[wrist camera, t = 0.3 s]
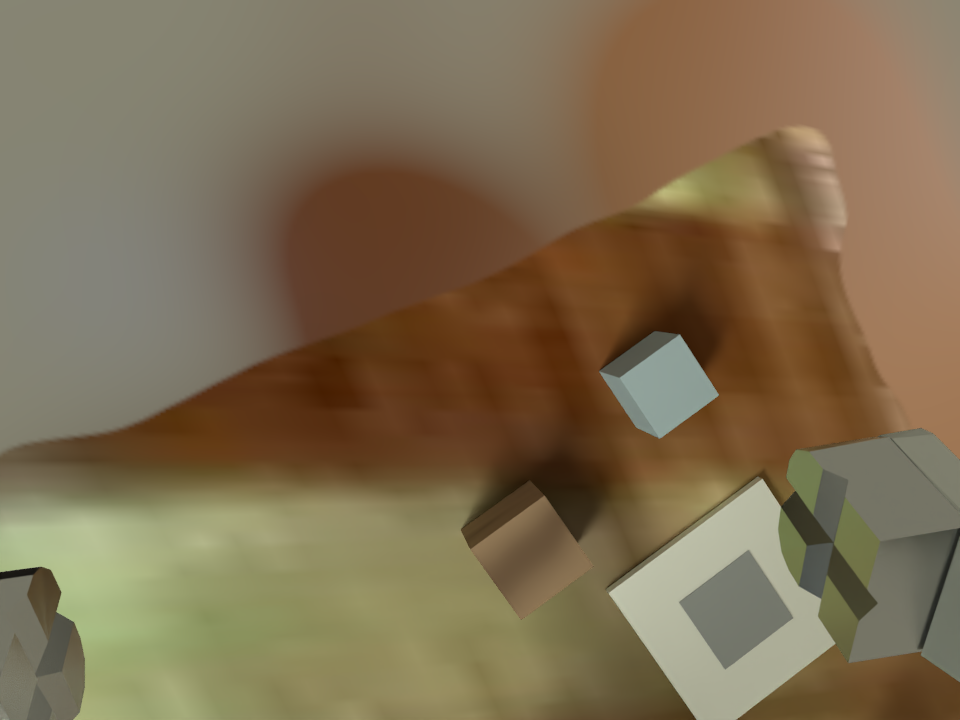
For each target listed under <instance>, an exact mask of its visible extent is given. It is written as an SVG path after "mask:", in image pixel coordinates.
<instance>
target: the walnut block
mask: <svg viewBox="0 0 960 720" xmlns="http://www.w3.org/2000/svg"><path fill="white" fill-rule="evenodd" d="M461 531H462V533H463V535H464V537H465V539H466V541H467V543H468V545H469V548H470V549H471V551H472V552H473V554H474V555H475V556H476V558H477V559H478V561H479V562H480V563H481V565H482V566H483V568H484V569H485V570H486V572H487V573H488V575H489V576H490V577H491V579H492V580H493V582H494V583H495V584H496V586H497V587H498V589H499V590H500V591H501V593H502V594H503V595H504V597H505V598H506V600H507V601H508V602H509V604H510V605H511V607H512V608H513V609H514V611H515V612H516V614H517V615H518V616H519V618H520V619H521V620H522V619H523V618H525V617H526V616H527V615H529V614H530V613H532V612H533V611H534V610H536V609H537V608H538V607H540V606H541V605H542V604H544V603H545V602H546V601H548V600H549V599H551V598H552V597H553V596H555V595H556V594H557V593H559V592H560V591H561V590H563V589H564V588H565V587H567V586H568V585H570V584H571V583H572V582H574V581H575V580H576V579H578V578H579V577H580V576H582V575H583V574H585V573H586V572H587V571H589V570H590V569H591V568H593V567H594V566H593V565H592V563H591V562H590V560H589V559H588V557H587V556H586V554H585V553H584V552H583V550H582V549H581V547H580V546H579V544H578V543H577V541H576V540H575V539H574V537H573V536H572V534H571V533H570V531H569V530H568V528H567V527H566V526H565V524H564V523H563V521H562V520H561V518H560V517H559V516H558V514H557V513H556V511H555V510H554V508H553V507H552V505H551V504H550V503H549V501H548V500H547V498H546V497H545V495H544V494H543V493H542V492H541V491H540V490H539V489H538V488H537V487H536V486H535V485H534V484H533V483H532V482H531V481H530V480H529V481H528V482H526V483H525V484H523V485H522V486H521V487H519V488H518V489H516V490H515V491H514V492H512V493H511V494H510V495H508V496H507V497H505V498H504V499H503V500H501V501H500V502H498V503H497V504H496V505H494V506H493V507H492V508H490V509H489V510H487V511H486V512H485V513H483V514H482V515H480V516H479V517H478V518H476V519H475V520H474V521H472V522H471V523H469V524H468V525H467V526H465V527H464V528H462V529H461Z"/></svg>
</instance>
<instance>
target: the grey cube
mask: <svg viewBox="0 0 960 720" xmlns="http://www.w3.org/2000/svg"><path fill="white" fill-rule="evenodd" d="M599 372H600V374H601V375H602V377H603V378H604V380H605V381H606V383H607V384H608V386H609V387H610V389H611V390H612V392H613V393H614V395H615V396H616V398H617V399H618V401H619V402H620V404H621V405H622V407H623V408H624V410H625V411H626V413H627V414H628V416H629V417H630V419H631V420H632V422H633V423H634V425H635V426H636V428H638V429H641V430H643V431H645V432H647V433H649V434H651V435H653V436H655V437H658V438H661V437H663V436H664V435H665V434H667V433H668V432H670V431H671V430H672V429H674V428H675V427H676V426H678V425H679V424H680V423H682V422H683V421H685V420H686V419H687V418H689V417H690V416H691V415H693V414H694V413H696V412H697V411H698V410H700V409H701V408H702V407H704V406H705V405H707V404H708V403H709V402H711V401H712V400H713V399H715V398H716V397H717V396H719V394H718V393H717V391H716V390H715V388H714V387H713V385H712V383H711V382H710V380H709V379H708V377H707V376H706V374H705V373H704V371H703V369H702V368H701V366H700V365H699V363H698V362H697V360H696V359H695V357H694V356H693V354H692V352H691V351H690V349H689V348H688V346H687V345H686V343H685V342H684V340H683V339H682V337H681V335H680V334H673V333H665V332H658V331H654V332H653V333H651V334H650V335H649V336H647V337H646V338H644V339H643V340H642V341H640V342H639V343H637V344H636V345H635V346H633V347H632V348H630V349H629V350H628V351H626V352H625V353H623V354H622V355H621V356H619V357H618V358H617V359H615V360H614V361H612V362H611V363H610V364H608V365H607V366H605V367H604V368H603V369H601V370H600V371H599Z"/></svg>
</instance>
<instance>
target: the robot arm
mask: <svg viewBox="0 0 960 720" xmlns="http://www.w3.org/2000/svg"><path fill="white" fill-rule="evenodd" d="M786 478H787V479H788V481H789V482H790V483H791V485H792V486H793V488H794V489H795V490H796V491H795V492H794V493H793V494H792V495H791V496H790V497H789V499H788V500H787V501H786V502H785V503H784V504H783V505H782V506H781V510H780V518H779V525H778V533H779V539H780V545H781V552H782V555H783V557H784V560H785V562H786V565H787V567H788V570H789V571H790V573H791V575H792V576H793V578H794V579H795V581H796V583H797V584H798V586H799V587H801V588H803V589H804V590H806V591H808V592H810V593H811V594H813V595H815V596H817V597H818V598H820V599H821V603H820V608H819V613H818V617H819V619H820V620H821V622H822V623H823V625H824V627H825V628H826V630H827V631H828V633H829V634H830V636H831V637H832V639H833V640H834V642H835V644H836V645H837V647H838V648H839V650H840V651H841V653H842V654H843V656H844V657H845V659H846V660H847V662H848V663H852V662H858V661H865V660H871V659H877V658H883V657H890V656H896V655H902V654H909V653H915V652H921V651H922V653H921V656H922V657H924V658H925V659H927V660H928V661H930V662H931V663H933V664H934V665H936V666H937V667H939V668H940V669H941V670H943V671H944V672H946V673H947V674H949V675H950V676H952V677H953V678H955V679H956V680H957V681H959V682H960V460H959V459H958V458H957V457H956V456H955V455H954V454H953V453H952V452H951V451H950V450H949V449H948V448H947V447H946V446H945V445H944V444H943V443H942V442H941V441H940V440H939V439H938V438H937V437H936V436H935V435H934V434H933V433H931V432H929V431H926V430H924V429H922V428H919V429H913V430H907V431H901V432H896V433H890V434H884V435H880V436H878V437H870V438H864V439H858V440H852V441H846V442H839V443H833V444H827V445H821V446H815V447H809V448H803V449H797V450H796V451H795V452H794V454H793V455H792V457H791V459H790V461H789V466H788V471H787V476H786ZM60 596H61V591H60V588H59V586H58V584H57V582H56V580H55V578H54V576H53V574H52V572H51V570H49V569H46V568H43V567H35V568H28V569H20V570H13V571H5V572H0V720H73V719H74V718H75V717H76V716H77V715H78V713H79V712H80V708H81V703H82V698H83V693H84V688H85V658H84V653H83V649H82V644H81V639H80V636H79V634H78V631H77V629H76V626H75V624H74V622H73V621H71V620H69V619H67V618H66V617H64V616H62V615H60V614H59V613H57V612H56V611H57V607H58V603H59V599H60Z"/></svg>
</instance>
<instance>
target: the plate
mask: <svg viewBox="0 0 960 720" xmlns="http://www.w3.org/2000/svg"><path fill="white" fill-rule="evenodd" d="M780 510H781V507H780V505H779V503H778V502H777V500H776V499H775V497H774V496H773V494H772V493H771V491H770V490H769V488H768V486H767V485H766V483H765V482H764V480H763V479H762V478H760V477H756V478H755V479H754V480H752V481H751V482H750V483H748V484H747V485H746V486H744V487H743V488H742V489H740V490H739V491H737V492H736V493H735V494H733V495H732V496H731V497H729V498H728V499H727V500H725V501H724V502H723V503H721V504H720V505H719V506H717V507H716V508H715V509H713V510H712V511H711V512H709V513H708V514H706V515H705V516H704V517H702V518H701V519H700V520H698V521H697V522H696V523H694V524H693V525H692V526H690V527H689V528H688V529H686V530H685V531H684V532H682V533H681V534H680V535H678V536H677V537H675V538H674V539H673V540H671V541H670V542H669V543H667V544H666V545H665V546H663V547H662V548H661V549H659V550H658V551H657V552H655V553H654V554H653V555H651V556H650V557H648V558H647V559H646V560H644V561H643V562H642V563H640V564H639V565H638V566H636V567H635V568H634V569H632V570H631V571H630V572H628V573H627V574H626V575H624V576H623V577H622V578H620V579H619V580H617V581H616V582H615V583H613V584H612V585H611V586H609V587H608V588H607V589H606V591H607V592H608V593H609V595H610V596H611V598H612V599H613V601H614V602H615V603H616V605H617V606H618V608H619V609H620V611H621V612H622V613H623V615H624V616H625V618H626V619H627V621H628V622H629V624H630V625H631V626H632V628H633V629H634V631H635V632H636V634H637V635H638V636H639V638H640V639H641V641H642V642H643V644H644V645H645V646H646V648H647V649H648V651H649V652H650V654H651V655H652V657H653V658H654V659H655V661H656V662H657V664H658V665H659V667H660V668H661V669H662V671H663V672H664V674H665V675H666V677H667V678H668V679H669V681H670V682H671V684H672V685H673V687H674V688H675V690H676V691H677V692H678V694H679V695H680V697H681V698H682V700H683V701H684V702H685V704H686V705H687V707H688V708H689V710H690V711H691V712H692V714H693V715H694V717H695V718H696V720H736V719H738V718H739V717H740V716H742V715H743V714H744V713H746V712H747V711H748V710H749V709H751V708H752V707H753V706H755V705H756V704H757V703H759V702H760V701H761V700H763V699H764V698H765V697H766V696H768V695H769V694H770V693H772V692H773V691H774V690H776V689H777V688H778V687H779V686H781V685H782V684H783V683H785V682H786V681H787V680H789V679H790V678H791V677H793V676H794V675H795V674H796V673H798V672H799V671H800V670H802V669H803V668H804V667H806V666H807V665H808V664H810V663H811V662H812V661H813V660H815V659H816V658H817V657H819V656H820V655H821V654H823V653H824V652H825V651H826V650H828V649H829V648H830V647H832V646H833V645H834V644H835V642H834V640H833V639H832V637H831V636H830V634H829V633H828V631H827V630H826V628H825V627H824V625H823V623H822V622H821V620H820V619H819V617H818V613H819V608H820V603H821V599H820V598H818V597H817V596H815V595H813V594H811V593H810V592H808V591H806V590H804V589H803V588H801V587H799V586H798V584H797V583H796V581H795V579H794V578H793V576H792V575H791V573H790V571H789V570H788V567H787V565H786V562H785V560H784V557H783V555H782V552H781V545H780V539H779V533H778V525H779V518H780Z"/></svg>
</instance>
